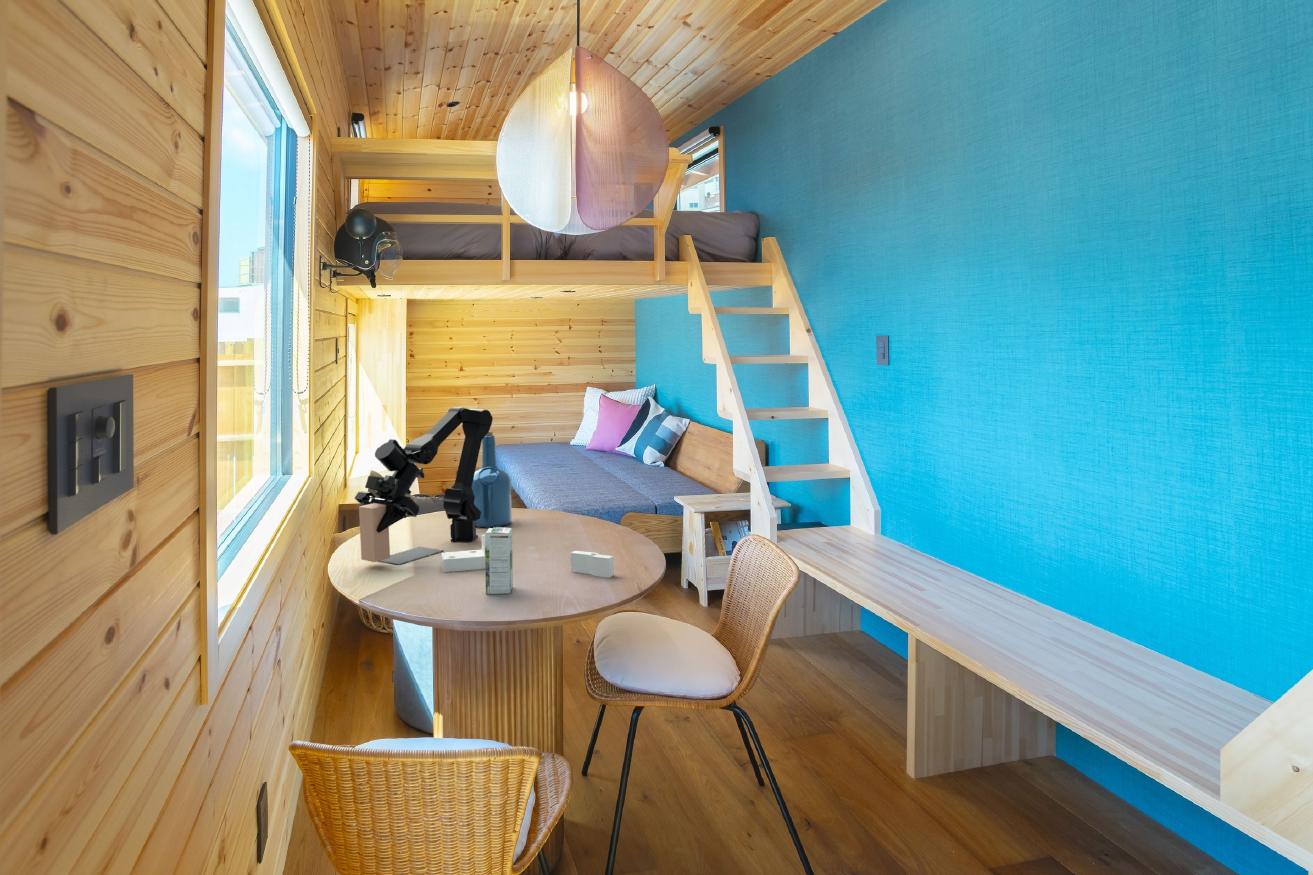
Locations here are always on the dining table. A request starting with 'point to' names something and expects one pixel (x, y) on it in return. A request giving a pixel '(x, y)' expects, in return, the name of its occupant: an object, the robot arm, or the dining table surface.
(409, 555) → the mat
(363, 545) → the terracotta block
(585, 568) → the white stepped block
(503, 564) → the syrup box
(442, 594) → the dining table surface
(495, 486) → the blue bottle
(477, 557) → the bracket
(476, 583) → the dining table surface
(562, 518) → the dining table surface
